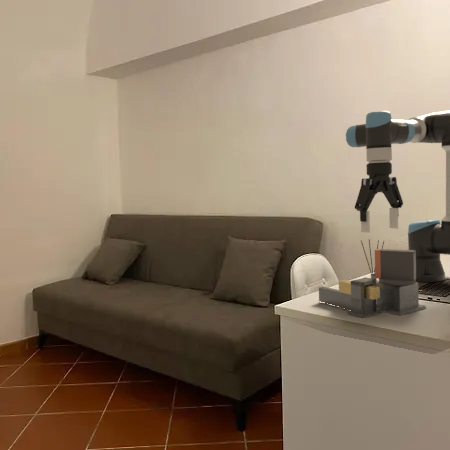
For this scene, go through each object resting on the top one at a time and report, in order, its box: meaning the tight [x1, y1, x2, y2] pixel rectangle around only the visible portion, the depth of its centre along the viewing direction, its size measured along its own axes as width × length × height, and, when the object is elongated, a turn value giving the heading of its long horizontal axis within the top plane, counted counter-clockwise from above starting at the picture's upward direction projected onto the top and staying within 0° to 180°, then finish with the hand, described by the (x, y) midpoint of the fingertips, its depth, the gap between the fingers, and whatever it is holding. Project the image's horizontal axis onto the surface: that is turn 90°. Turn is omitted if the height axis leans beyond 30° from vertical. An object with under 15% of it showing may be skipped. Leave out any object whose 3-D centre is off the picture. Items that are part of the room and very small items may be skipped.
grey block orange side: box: [374, 248, 417, 286], centre depth 158 cm, size 12×11×10 cm
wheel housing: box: [376, 281, 427, 316], centre depth 159 cm, size 12×12×8 cm
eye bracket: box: [318, 277, 383, 319], centre depth 162 cm, size 9×22×10 cm, turn 33°
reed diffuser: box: [360, 238, 385, 283], centre depth 177 cm, size 10×7×20 cm
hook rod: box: [338, 279, 380, 300], centre depth 157 cm, size 3×14×4 cm, turn 33°
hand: (380, 230), depth 157 cm, fingers open, 13 cm apart
